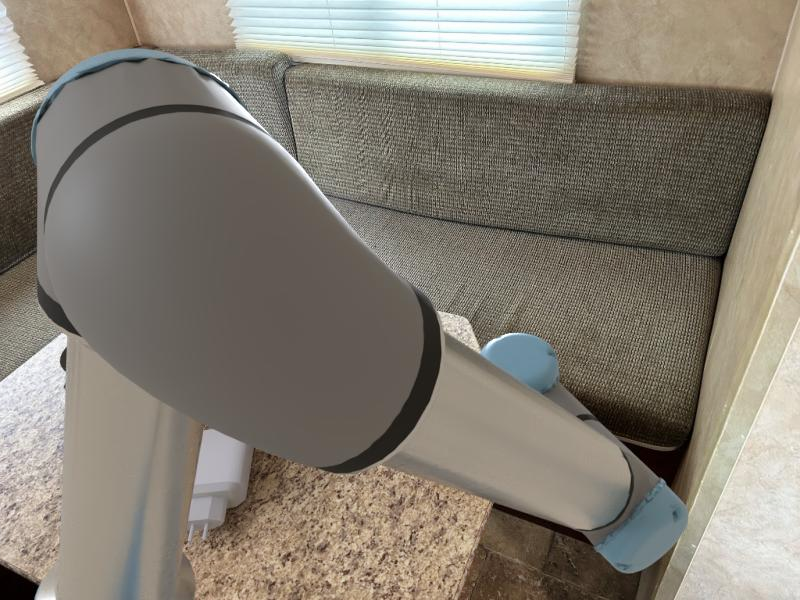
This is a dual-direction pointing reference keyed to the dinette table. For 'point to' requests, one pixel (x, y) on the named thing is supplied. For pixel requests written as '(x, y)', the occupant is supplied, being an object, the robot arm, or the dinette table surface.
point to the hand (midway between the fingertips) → (268, 373)
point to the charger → (218, 480)
